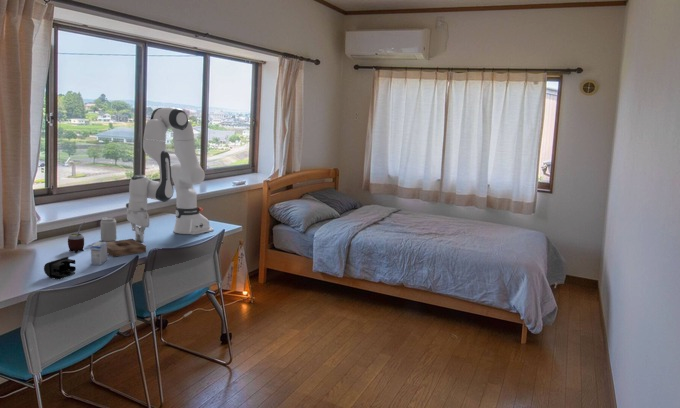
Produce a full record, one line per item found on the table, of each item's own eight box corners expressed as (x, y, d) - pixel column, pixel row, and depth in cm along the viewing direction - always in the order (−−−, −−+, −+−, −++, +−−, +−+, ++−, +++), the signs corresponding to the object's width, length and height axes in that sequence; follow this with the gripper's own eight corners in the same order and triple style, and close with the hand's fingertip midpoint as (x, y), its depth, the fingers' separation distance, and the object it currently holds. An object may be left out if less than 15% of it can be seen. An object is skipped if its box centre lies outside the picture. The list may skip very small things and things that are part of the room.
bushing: (141, 240, 280) (141, 225, 278) (144, 242, 277) (144, 227, 275) (134, 241, 277) (134, 226, 275) (137, 243, 274) (137, 228, 273)
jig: (132, 244, 271) (132, 238, 271) (146, 251, 260) (146, 245, 260) (100, 248, 260) (100, 243, 260) (113, 256, 249) (112, 250, 249)
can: (110, 243, 271) (110, 220, 269) (97, 241, 273) (97, 218, 270) (119, 239, 279) (119, 217, 276) (106, 238, 280) (106, 216, 278)
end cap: (63, 270, 226) (62, 255, 225) (76, 273, 224) (76, 257, 223) (43, 277, 217) (43, 261, 216) (57, 280, 215) (57, 264, 214)
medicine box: (97, 259, 244) (97, 241, 242) (107, 260, 244) (107, 241, 243) (91, 264, 236) (90, 246, 234) (101, 265, 236) (100, 246, 235)
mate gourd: (69, 249, 257) (67, 219, 254) (86, 248, 260) (86, 218, 257) (67, 253, 250) (66, 222, 247) (85, 252, 253) (84, 222, 250)
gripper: (152, 209, 268) (152, 236, 270) (136, 202, 283) (136, 228, 285) (140, 210, 264) (140, 237, 266) (124, 203, 278) (124, 229, 281)
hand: (137, 232), depth 276 cm, fingers open, 8 cm apart
